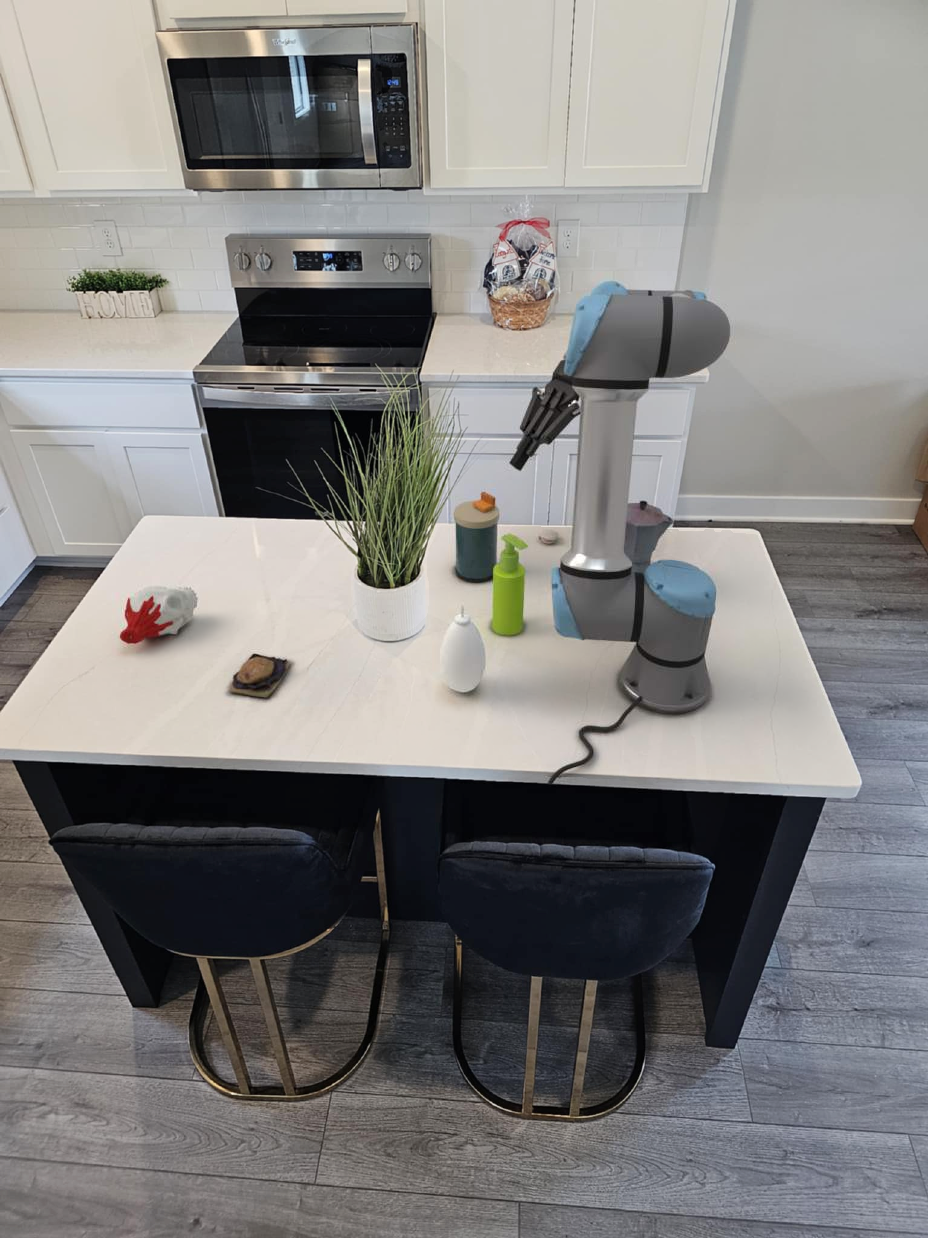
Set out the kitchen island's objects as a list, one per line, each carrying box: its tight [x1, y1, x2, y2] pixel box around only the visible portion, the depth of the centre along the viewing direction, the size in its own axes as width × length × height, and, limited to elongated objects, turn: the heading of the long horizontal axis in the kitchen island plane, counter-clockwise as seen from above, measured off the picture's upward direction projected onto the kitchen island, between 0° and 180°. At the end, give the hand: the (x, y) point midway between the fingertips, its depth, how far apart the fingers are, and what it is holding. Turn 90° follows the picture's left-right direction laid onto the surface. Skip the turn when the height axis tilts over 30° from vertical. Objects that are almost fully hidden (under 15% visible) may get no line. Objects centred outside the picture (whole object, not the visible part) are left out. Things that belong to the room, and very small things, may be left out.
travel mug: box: [453, 500, 500, 584], centre depth 177 cm, size 9×9×14 cm
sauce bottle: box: [439, 603, 486, 693], centre depth 144 cm, size 8×8×18 cm
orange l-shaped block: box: [473, 491, 496, 512], centre depth 173 cm, size 3×4×2 cm
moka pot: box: [624, 500, 675, 573], centre depth 170 cm, size 10×15×20 cm, turn 78°
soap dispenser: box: [491, 533, 529, 637], centre depth 158 cm, size 6×7×20 cm
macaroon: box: [538, 529, 559, 544], centre depth 191 cm, size 4×5×2 cm
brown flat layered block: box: [229, 652, 291, 699], centre depth 151 cm, size 11×8×4 cm
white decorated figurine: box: [119, 585, 199, 644], centre depth 161 cm, size 9×11×15 cm
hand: (514, 466), depth 174 cm, fingers closed
